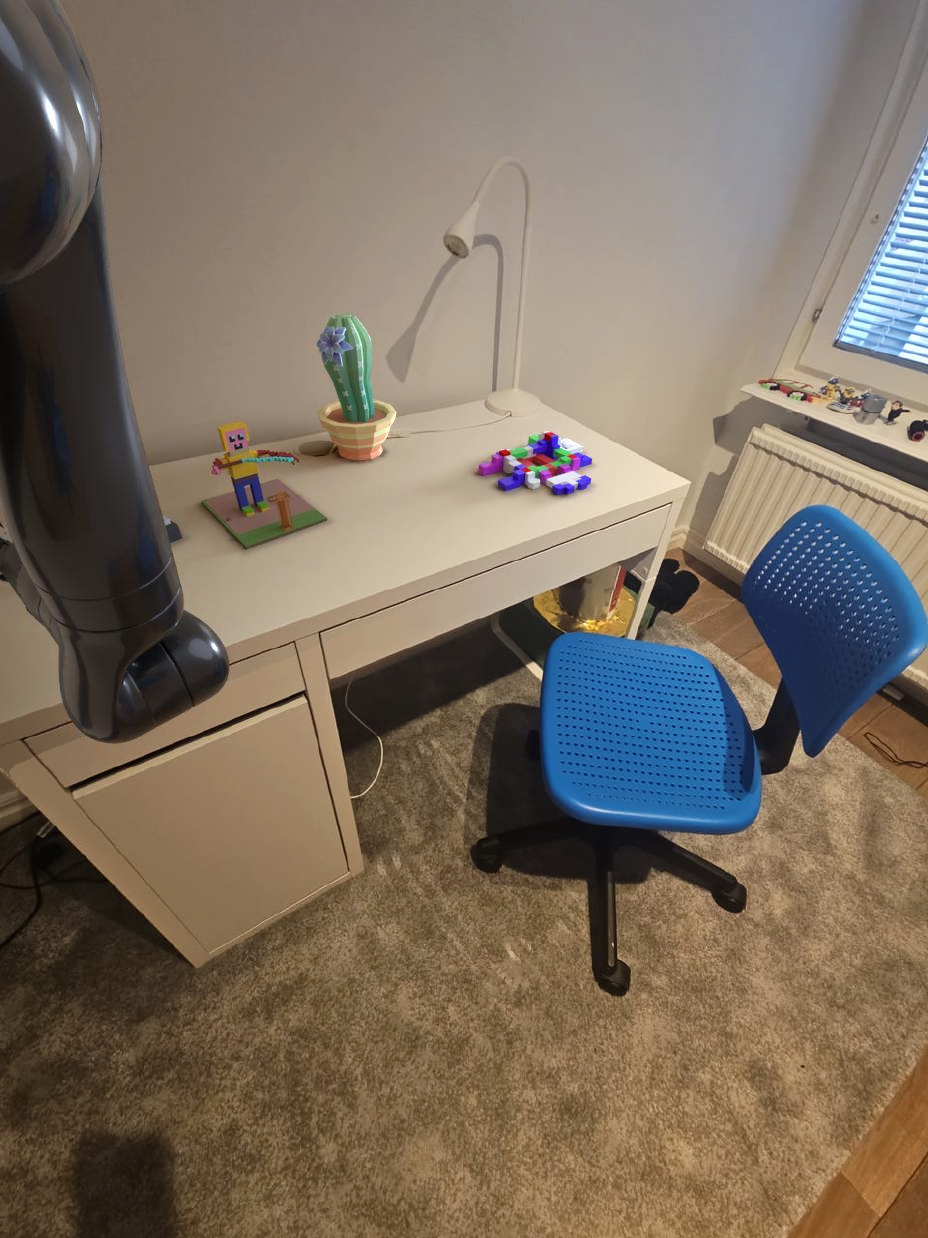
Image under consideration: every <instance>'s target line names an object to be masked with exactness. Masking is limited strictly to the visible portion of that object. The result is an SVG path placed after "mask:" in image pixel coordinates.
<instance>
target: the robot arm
mask: <svg viewBox="0 0 928 1238" xmlns="http://www.w3.org/2000/svg"><path fill="white" fill-rule="evenodd" d="M103 119H104V118H103V112H102V105H101V101H100V96H99V91H98V88H97V83H96V81H95V77H94V74H93V70H92V67H91V63H90V61H89V60H88V57H87V54H86V52H85V50H84V48H83V45H82V43H81V41H80V38H79V35H78V33H77V31H76V28H75V26H74V24H73V23H72V21H71V19H70V17H69V16H68V14H67V12H66V10H65V9H64V7H63V5H62V3H61V2H60V0H0V505H1V510H2V513H3V517H4V520H5V522H6V526H7V527H6V528H5V527H4V526H3V524H2V522H0V581H1V582H6V583H8V584H9V585H10V586H11V587H12V589H13V591H14V592H15V594H16V595H17V596H18V598H19V599H20V600H21V601H22V603H23V605H24V606H25V610H26V611H27V613H28V614H29V615H31V616H32V617H33V619H35V620H36V621H37V622H38V623H39V624H40V625H42V626H43V627H44V628H45V629H46V631H47V632H48V634H49V635H50V637H51V638H52V640H53V641H54V642H55V644H56V645H57V648H58V663H57V664H58V670H57V671H58V685H59V690H60V697H61V701H62V704H63V707H64V710H65V712H66V714H67V716H68V717H69V719H70V720H71V722H72V724H73V725H74V726H75V728H77V730H78V731H79V732H81V733H82V734H83V735H85V736H86V737H87V738H89V739H91V740H93V741H96V742H99V743H104V744H113V745H115V744H124V743H129V742H131V741H134V740H136V739H138V738H140V737H142V736H144V735H146V734H148V733H150V732H152V731H153V730H156V728H159V727H160V726H162V725H164V724H166V723H167V722H170V721H171V720H173V719H175V718H177V717H179V716H181V715H182V714H185V713H187V712H188V711H190V710H191V709H192V708H195V707H197V706H199V705H201V704H203V703H204V702H206V701H208V700H210V699H212V698H213V697H215V696H216V695H217V694H219V692H220V691H221V690H222V689H223V688H224V686H225V685H226V683H227V681H228V679H229V675H230V657H229V654H228V650H227V648H226V646H225V644H224V643H223V641H222V639H221V638H220V637H219V635H218V634H217V633H216V632H215V631H214V629H212V627H210V626H209V625H208V624H207V623H206V622H205V621H203V620H202V619H201V618H199V617H198V616H196V615H195V614H193V613H191V612H190V611H187V610H186V609H184V608H185V598H184V592H183V586H182V583H181V579H180V575H179V571H178V567H177V564H176V563H177V562H176V560H175V556H174V552H173V548H172V545H171V543H170V541H169V537H168V533H167V529H166V526H165V522H164V519H163V515H164V514H163V512H162V508H161V505H160V502H159V497H158V495H157V490H156V485H155V483H154V480H153V476H152V471H151V469H150V465H149V461H148V458H147V457H148V456H147V453H146V450H145V445H144V443H143V438H142V435H141V430H140V426H139V423H138V418H137V415H136V411H135V406H134V402H133V398H132V393H131V389H130V385H129V380H128V373H127V369H126V364H125V358H124V353H123V347H122V342H121V336H120V330H119V323H118V318H117V311H116V304H115V303H116V302H115V296H114V289H113V283H112V273H111V263H110V251H109V241H108V240H109V239H108V227H107V214H106V201H105V200H106V199H105V198H106V197H105V185H104V171H103V170H104V168H103V167H104V166H103V159H104V144H105V143H104V142H105V134H104V132H105V131H104V120H103Z"/></svg>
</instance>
